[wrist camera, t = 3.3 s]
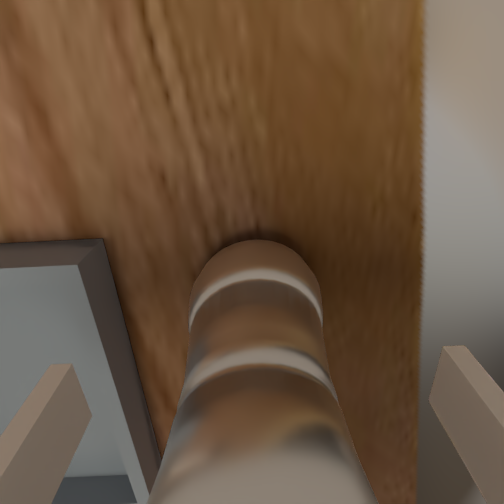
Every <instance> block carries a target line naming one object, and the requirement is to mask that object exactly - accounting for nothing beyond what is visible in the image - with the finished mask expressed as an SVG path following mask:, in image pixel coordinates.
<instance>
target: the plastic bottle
mask: <svg viewBox="0 0 504 504" xmlns="http://www.w3.org/2000/svg"><path fill="white" fill-rule="evenodd" d="M322 324H323V307H322V298H321V292H320V286H319V283H318V281H317V279H316V277H315V275H314V273H313V272H312V271H311V269H310V268H309V267H308V265H307V264H306V263H305V261H304V260H303V259H302V258H301V256H300V255H298V254H297V253H296V252H295V251H294V250H292V249H291V248H289V247H287V246H285V245H283V244H280V243H277V242H274V241H269V240H260V239H257V240H246V241H242V242H238V243H234V244H232V245H230V246H228V247H225V248H224V249H222V250H221V251H219V252H218V253H216V254H215V255H214V256H213V257H212V258H211V259H210V260H209V261H208V262H207V263H206V265H205V266H204V268H203V270H202V271H201V273H200V274H199V276H198V277H197V279H196V281H195V282H194V284H193V287H192V290H191V293H190V300H189V314H188V326H189V335H190V338H189V346H188V355H187V363H186V371H185V380H184V386H183V389H182V392H181V396H180V399H179V403H178V406H177V413H176V416H175V418H174V421H173V424H172V427H171V431H170V434H169V438H168V441H167V445H166V448H165V452H164V455H163V459H162V462H161V466H160V469H159V472H158V475H157V477H156V480H155V482H154V485H153V488H152V490H151V493H150V496H149V498H148V501H147V504H378V502H377V499H376V497H375V495H374V493H373V490H372V488H371V486H370V484H369V481H368V479H367V477H366V475H365V472H364V470H363V468H362V466H361V463H360V461H359V459H358V456H357V453H356V450H355V448H354V445H353V442H352V439H351V436H350V433H349V430H348V427H347V424H346V421H345V418H344V415H343V412H342V410H341V408H340V406H339V404H338V399H337V395H336V392H335V389H334V386H333V383H332V380H331V378H330V373H329V367H328V361H327V355H326V349H325V343H324V337H323V331H322Z"/></svg>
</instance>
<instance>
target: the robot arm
mask: <svg viewBox="0 0 504 504" xmlns="http://www.w3.org/2000/svg"><path fill="white" fill-rule="evenodd" d="M428 401H429V403H430V405H431V407H432V408H433V410H434V412H435V414H436V415H437V417H438V419H439V420H440V422H441V424H442V426H443V427H444V429H445V431H446V433H447V434H448V436H449V438H450V440H451V441H452V443H453V445H454V447H455V449H456V450H457V452H458V454H459V455H460V457H461V459H462V461H463V463H464V464H465V466H466V468H467V470H468V471H469V473H470V475H471V477H472V478H473V480H474V482H475V484H476V485H477V487H478V489H479V491H480V492H481V494H482V496H483V498H484V499H485V501H486V503H487V504H504V392H503V391H502V390H501V388H500V387H499V386H498V385H497V384H496V382H495V381H494V380H493V379H492V378H491V376H489V374H488V373H487V372H486V371H485V369H484V368H483V367H482V366H481V365H480V363H479V362H478V361H477V360H476V359H475V357H474V356H473V355H472V354H471V352H470V351H469V350H468V349H467V348H466V347H465V346H464V345H461V346H443V347H442V351H441V355H440V359H439V363H438V366H437V370H436V374H435V377H434V381H433V385H432V389H431V392H430V396H429V400H428ZM91 418H92V414H91V411H90V409H89V406H88V403H87V401H86V398H85V396H84V393H83V390H82V388H81V385H80V383H79V380H78V377H77V375H76V372H75V370H74V367H73V364H72V363H70V364H51V365H50V366H49V368H48V369H47V370H46V372H45V373H44V375H43V376H42V378H41V379H40V380H39V382H38V383H37V385H36V386H35V388H34V389H33V390H32V392H31V393H30V395H29V396H28V398H27V399H26V400H25V402H24V403H23V405H22V406H21V408H20V409H19V410H18V412H17V413H16V415H15V416H14V418H13V419H12V420H11V422H10V423H9V425H8V426H7V428H6V429H5V430H4V432H3V433H2V435H1V436H0V504H51V503H52V501H53V499H54V497H55V495H56V492H57V490H58V488H59V486H60V484H61V482H62V480H63V477H64V475H65V473H66V471H67V469H68V467H69V465H70V462H71V460H72V458H73V456H74V454H75V452H76V450H77V447H78V445H79V443H80V441H81V439H82V437H83V435H84V432H85V430H86V428H87V426H88V424H89V422H90V420H91Z"/></svg>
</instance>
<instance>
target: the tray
mask: <svg viewBox="0 0 504 504" xmlns="http://www.w3.org/2000/svg"><path fill="white" fill-rule="evenodd" d="M70 363H72V364H73V367H74V370H75V372H76V375H77V377H78V380H79V383H80V385H81V388H82V390H83V393H84V396H85V398H86V401H87V403H88V406H89V409H90V411H91V414H92V418H91V420H90V422H89V424H88V426H87V428H86V430H85V432H84V435H83V437H82V439H81V441H80V443H79V445H78V447H77V450H76V452H75V454H74V456H73V458H72V460H71V462H70V465H69V467H68V469H67V471H66V473H65V475H64V477H63V480H62V482H61V484H60V486H59V488H58V490H57V492H56V495H55V497H54V499H53V501H52V503H51V504H147V501H148V498H149V496H150V493H151V490H152V488H153V485H154V482H155V480H156V477H157V475H158V472H159V469H160V466H161V462H162V461H161V457H160V453H159V450H158V446H157V442H156V438H155V435H154V431H153V427H152V423H151V419H150V416H149V412H148V408H147V404H146V401H145V397H144V393H143V389H142V385H141V382H140V378H139V374H138V370H137V367H136V363H135V359H134V355H133V351H132V348H131V344H130V340H129V336H128V333H127V329H126V325H125V321H124V318H123V314H122V310H121V306H120V302H119V299H118V295H117V291H116V287H115V284H114V280H113V276H112V272H111V268H110V265H109V261H108V257H107V253H106V250H105V246H104V242H103V239H83V240H63V241H43V242H23V243H3V244H0V436H1V435H2V433H3V432H4V430H5V429H6V428H7V426H8V425H9V423H10V422H11V420H12V419H13V418H14V416H15V415H16V413H17V412H18V410H19V409H20V408H21V406H22V405H23V403H24V402H25V400H26V399H27V398H28V396H29V395H30V393H31V392H32V390H33V389H34V388H35V386H36V385H37V383H38V382H39V380H40V379H41V378H42V376H43V375H44V373H45V372H46V370H47V369H48V368H49V366H50V365H51V364H70Z"/></svg>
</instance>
